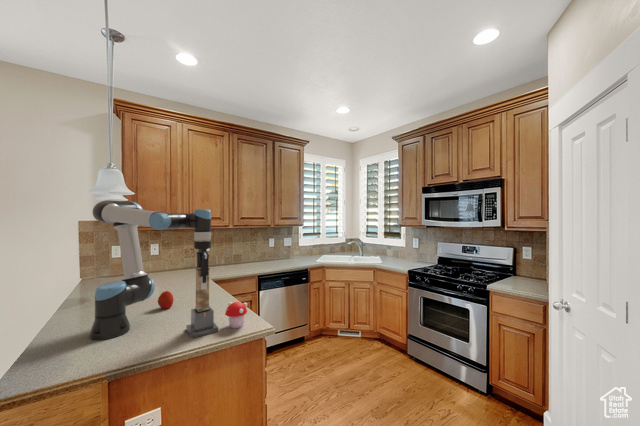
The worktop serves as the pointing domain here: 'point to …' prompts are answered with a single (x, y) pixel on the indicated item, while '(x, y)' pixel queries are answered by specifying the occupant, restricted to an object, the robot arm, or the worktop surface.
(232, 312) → the mushroom
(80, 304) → the worktop surface
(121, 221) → the robot arm
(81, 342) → the worktop surface
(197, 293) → the post
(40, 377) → the worktop surface
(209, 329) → the sleeve
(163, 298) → the apple
